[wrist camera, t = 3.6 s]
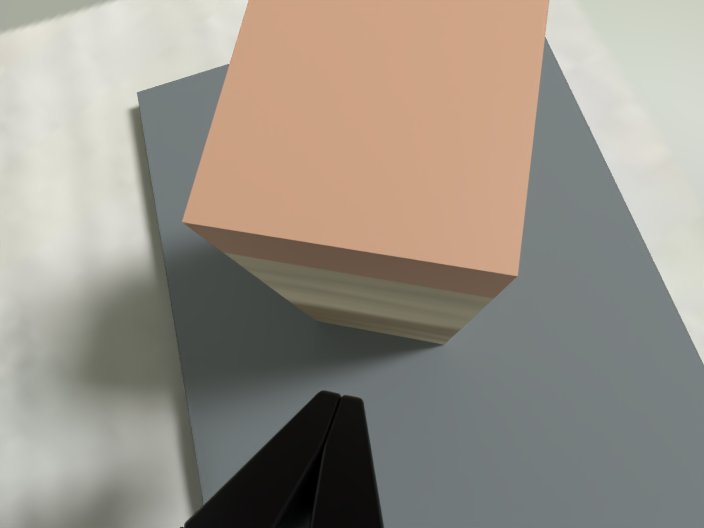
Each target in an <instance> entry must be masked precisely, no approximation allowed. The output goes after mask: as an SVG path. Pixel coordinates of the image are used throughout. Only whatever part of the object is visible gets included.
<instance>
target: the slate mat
mask: <svg viewBox="0 0 704 528" xmlns="http://www.w3.org/2000/svg"><path fill="white" fill-rule="evenodd" d="M228 68H229V64H227V65H224V66H221V67H217V68H214V69H211V70H208V71H205V72H201V73H198V74H195V75H192V76H188V77H185V78H182V79H179V80H176V81H172V82H169V83H166V84H163V85H159V86H156V87H153V88H150V89H147V90H143V91H140V92H137V95H138V101H139V108H140V114H141V120H142V126H143V132H144V138H145V145H146V151H147V157H148V163H149V169H150V176H151V182H152V188H153V194H154V200H155V206H156V213H157V219H158V225H159V231H160V237H161V244H162V250H163V256H164V262H165V268H166V275H167V281H168V287H169V293H170V299H171V305H172V312H173V318H174V324H175V330H176V336H177V343H178V349H179V355H180V361H181V367H182V373H183V380H184V386H185V392H186V398H187V404H188V411H189V417H190V423H191V429H192V435H193V441H194V448H195V454H196V460H197V466H198V472H199V479H200V485H201V491H202V497H203V503H204V504H205V503H206V502H207V501H208V500H209V499H210V498H211V497H212V496H213V495H214V494H215V493H216V492H217V491H218V490H219V489H220V488H221V487H222V486H223V485H224V484H225V483H226V482H227V481H228V480H229V479H230V478H231V477H232V476H233V475H235V474H236V473H237V472H238V471H239V470H240V469H241V468H242V467H243V466H244V465H245V464H246V463H247V462H248V461H249V460H250V459H251V458H252V457H253V456H254V455H255V454H256V453H257V452H258V451H259V450H260V449H261V448H262V447H263V446H264V445H265V444H266V443H267V442H268V441H269V440H270V439H271V438H272V437H273V436H274V435H275V434H276V433H277V432H278V431H279V430H281V429H282V428H283V427H284V426H285V425H286V424H287V423H288V422H289V421H290V420H291V419H292V418H293V417H294V416H295V415H296V414H297V413H298V412H299V411H300V410H301V409H302V408H303V407H304V406H305V405H306V404H307V403H308V402H309V401H310V400H311V399H312V398H313V397H314V396H315V395H316V394H317V393H318V392H320V391H322V390H325V391H330V392H335V393H339V394H340V395H341V397H342V396H343V395H349V396H354V397H358V398H361V399H362V400H363V402H364V407H365V413H366V420H367V426H368V432H369V438H370V444H371V450H372V456H373V462H374V468H375V475H376V481H377V487H378V493H379V499H380V505H381V511H382V517H383V523H384V528H704V364H703V362H702V360H701V358H700V356H699V354H698V352H697V350H696V348H695V346H694V344H693V342H692V340H691V338H690V335H689V333H688V331H687V329H686V327H685V325H684V323H683V321H682V319H681V317H680V315H679V313H678V311H677V309H676V306H675V304H674V302H673V300H672V298H671V296H670V294H669V292H668V290H667V288H666V286H665V284H664V282H663V280H662V278H661V275H660V273H659V271H658V269H657V267H656V265H655V263H654V261H653V259H652V257H651V255H650V253H649V251H648V249H647V246H646V244H645V242H644V240H643V238H642V236H641V234H640V232H639V230H638V228H637V226H636V224H635V222H634V220H633V217H632V215H631V213H630V211H629V209H628V207H627V205H626V203H625V201H624V199H623V197H622V195H621V193H620V191H619V189H618V186H617V184H616V182H615V180H614V178H613V176H612V174H611V172H610V170H609V168H608V166H607V164H606V162H605V160H604V157H603V155H602V153H601V151H600V149H599V147H598V145H597V143H596V141H595V139H594V137H593V135H592V133H591V131H590V128H589V126H588V124H587V122H586V120H585V118H584V116H583V114H582V112H581V110H580V108H579V106H578V104H577V102H576V100H575V97H574V95H573V93H572V91H571V89H570V87H569V85H568V83H567V81H566V79H565V77H564V75H563V73H562V71H561V68H560V66H559V64H558V62H557V60H556V58H555V56H554V54H553V52H552V50H551V48H550V46H549V44H548V42H547V39H546V37H545V41H544V50H543V59H542V68H541V76H540V85H539V94H538V103H537V111H536V120H535V129H534V138H533V147H532V155H531V164H530V173H529V182H528V190H527V199H526V208H525V217H524V226H523V234H522V243H521V252H520V261H519V269H518V276H517V277H516V278H515V279H514V280H513V281H512V282H511V283H510V284H509V285H508V286H507V287H506V288H505V289H504V290H502V291H501V292H500V293H499V294H498V295H497V296H496V297H495V298H494V299H493V300H492V301H491V302H490V303H489V304H487V305H486V306H485V307H484V308H483V309H482V310H481V311H480V312H479V313H478V314H477V315H476V316H475V317H474V318H473V319H471V320H470V321H469V322H468V323H467V324H466V325H465V326H464V327H463V328H462V329H461V330H460V331H459V332H458V333H456V334H455V335H454V336H453V337H452V338H451V339H450V340H449V341H448V342H447V343H446V344H445V345H443V344H438V343H432V342H427V341H422V340H416V339H411V338H406V337H400V336H395V335H390V334H384V333H379V332H374V331H368V330H363V329H358V328H352V327H347V326H342V325H336V324H331V323H326V322H320V321H315V320H314V319H312V318H311V317H310V316H308V315H307V314H306V313H304V312H303V311H302V310H300V309H299V308H298V307H296V306H295V305H293V304H292V303H291V302H289V301H288V300H287V299H285V298H284V297H283V296H281V295H280V294H279V293H277V292H276V291H275V290H273V289H272V288H270V287H269V286H268V285H266V284H265V283H264V282H262V281H261V280H260V279H258V278H257V277H256V276H254V275H253V274H252V273H250V272H249V271H247V270H246V269H245V268H243V267H242V266H241V265H239V264H238V263H237V262H235V261H234V260H233V259H231V258H230V257H228V256H227V255H226V254H224V253H223V252H222V251H220V250H219V249H218V248H216V247H215V246H214V245H212V244H211V243H210V242H208V241H207V240H205V239H204V238H203V237H201V236H200V235H199V234H197V233H196V232H195V231H193V230H192V229H191V228H189V227H188V226H187V225H185V224H184V223H182V220H183V217H184V213H185V210H186V207H187V203H188V200H189V197H190V193H191V190H192V187H193V184H194V180H195V177H196V174H197V170H198V167H199V164H200V160H201V157H202V154H203V150H204V147H205V144H206V140H207V137H208V134H209V131H210V127H211V124H212V121H213V117H214V114H215V111H216V107H217V104H218V101H219V97H220V94H221V91H222V87H223V84H224V81H225V78H226V74H227V71H228Z"/></svg>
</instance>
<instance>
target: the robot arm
mask: <svg viewBox="0 0 704 528" xmlns="http://www.w3.org/2000/svg"><path fill="white" fill-rule="evenodd" d="M180 528H384V523H383V517H382V511H381V505H380V499H379V493H378V487H377V481H376V475H375V468H374V462H373V456H372V450H371V444H370V438H369V432H368V426H367V420H366V413H365V407H364V402H363V400H362V399H361V398H358V397H354V396H349V395H343V396H342V397H341V395H340V394H339V393H335V392H330V391H325V390H322V391H320V392H318V393H317V394H316V395H315V396H314V397H313V398H312V399H311V400H310V401H309V402H308V403H307V404H306V405H305V406H304V407H303V408H302V409H301V410H300V411H299V412H298V413H297V414H296V415H295V416H294V417H293V418H292V419H291V420H290V421H289V422H288V423H287V424H286V425H285V426H284V427H283V428H282V429H281V430H279V431H278V432H277V433H276V434H275V435H274V436H273V437H272V438H271V439H270V440H269V441H268V442H267V443H266V444H265V445H264V446H263V447H262V448H261V449H260V450H259V451H258V452H257V453H256V454H255V455H254V456H253V457H252V458H251V459H250V460H249V461H248V462H247V463H246V464H245V465H244V466H243V467H242V468H241V469H240V470H239V471H238V472H237V473H236V474H235V475H233V476H232V477H231V478H230V479H229V480H228V481H227V482H226V483H225V484H224V485H223V486H222V487H221V488H220V489H219V490H218V491H217V492H216V493H215V494H214V495H213V496H212V497H211V498H210V499H209V500H208V501H207V502H206V503H205V504H204V505H203V506H202V507H201V508H200V509H199V510H198V511H197V512H196V513H195V514H194V515H193V516H192V517H191V518H190V519H189V520H187V521H186V522H185V524H184V527H180Z"/></svg>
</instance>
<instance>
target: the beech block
mask: <svg viewBox="0 0 704 528" xmlns="http://www.w3.org/2000/svg"><path fill="white" fill-rule="evenodd" d="M548 6H549V0H249V1H248V5H247V8H246V11H245V15H244V18H243V21H242V25H241V28H240V31H239V34H238V38H237V41H236V44H235V48H234V51H233V54H232V58H231V61H230V64H229V68H228V71H227V74H226V78H225V81H224V84H223V87H222V91H221V94H220V97H219V101H218V104H217V107H216V111H215V114H214V117H213V121H212V124H211V127H210V131H209V134H208V137H207V140H206V144H205V147H204V150H203V154H202V157H201V160H200V164H199V167H198V170H197V174H196V177H195V180H194V184H193V187H192V190H191V193H190V197H189V200H188V203H187V207H186V210H185V213H184V217H183V220H182V223H184V224H185V225H187V226H188V227H189V228H191V229H192V230H193V231H195V232H196V233H197V234H199V235H200V236H201V237H203V238H204V239H205V240H207V241H208V242H210V243H211V244H212V245H214V246H215V247H216V248H218V249H219V250H220V251H222V252H223V253H224V254H226V255H227V256H228V257H230V258H231V259H233V260H234V261H235V262H237V263H238V264H239V265H241V266H242V267H243V268H245V269H246V270H247V271H249V272H250V273H252V274H253V275H254V276H256V277H257V278H258V279H260V280H261V281H262V282H264V283H265V284H266V285H268V286H269V287H270V288H272V289H273V290H275V291H276V292H277V293H279V294H280V295H281V296H283V297H284V298H285V299H287V300H288V301H289V302H291V303H292V304H293V305H295V306H296V307H298V308H299V309H300V310H302V311H303V312H304V313H306V314H307V315H308V316H310V317H311V318H312V319H314V320H315V321H320V322H326V323H331V324H336V325H342V326H347V327H352V328H358V329H363V330H368V331H374V332H379V333H384V334H390V335H395V336H400V337H406V338H411V339H416V340H422V341H427V342H432V343H438V344H443V345H445V344H446V343H447V342H448V341H449V340H450V339H451V338H452V337H453V336H454V335H455V334H456V333H458V332H459V331H460V330H461V329H462V328H463V327H464V326H465V325H466V324H467V323H468V322H469V321H470V320H471V319H473V318H474V317H475V316H476V315H477V314H478V313H479V312H480V311H481V310H482V309H483V308H484V307H485V306H486V305H487V304H489V303H490V302H491V301H492V300H493V299H494V298H495V297H496V296H497V295H498V294H499V293H500V292H501V291H502V290H504V289H505V288H506V287H507V286H508V285H509V284H510V283H511V282H512V281H513V280H514V279H515V278H516V277H517V276H518V269H519V261H520V252H521V243H522V234H523V226H524V217H525V208H526V199H527V190H528V182H529V173H530V164H531V155H532V147H533V138H534V129H535V120H536V111H537V103H538V94H539V85H540V76H541V68H542V59H543V50H544V41H545V32H546V24H547V15H548Z"/></svg>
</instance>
